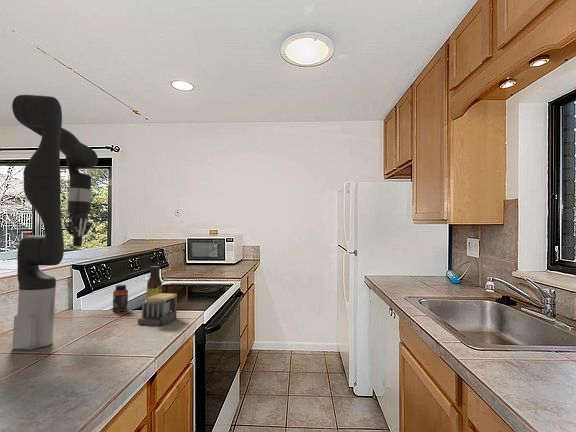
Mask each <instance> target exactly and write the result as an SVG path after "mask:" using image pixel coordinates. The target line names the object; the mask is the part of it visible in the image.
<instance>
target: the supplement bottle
mask: <svg viewBox="0 0 576 432" xmlns="http://www.w3.org/2000/svg"><path fill="white" fill-rule="evenodd" d="M128 302H129V290H128V289H127V285H126V284H118V285H115V289H114V290H113V292H112V312H113V311H124V312H126V311H128V304H129V303H128Z"/></svg>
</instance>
